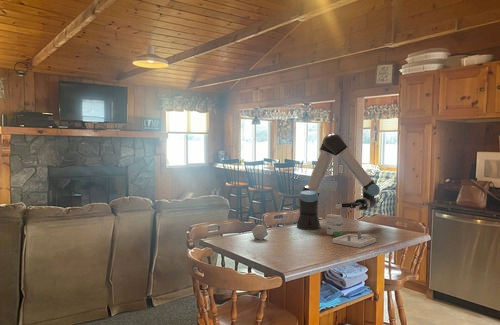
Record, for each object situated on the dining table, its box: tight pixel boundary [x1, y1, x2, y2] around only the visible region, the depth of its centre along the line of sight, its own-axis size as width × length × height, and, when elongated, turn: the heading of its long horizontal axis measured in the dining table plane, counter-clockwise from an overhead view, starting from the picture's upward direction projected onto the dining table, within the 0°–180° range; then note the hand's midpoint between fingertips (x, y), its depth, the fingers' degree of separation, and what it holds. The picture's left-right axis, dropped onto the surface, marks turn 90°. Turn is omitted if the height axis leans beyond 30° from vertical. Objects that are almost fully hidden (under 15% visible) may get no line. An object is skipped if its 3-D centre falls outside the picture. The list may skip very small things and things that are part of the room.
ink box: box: [326, 213, 344, 237], centre depth 226 cm, size 9×5×12 cm, turn 39°
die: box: [251, 224, 269, 241], centre depth 213 cm, size 8×9×10 cm
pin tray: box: [332, 231, 377, 248], centre depth 206 cm, size 16×18×5 cm
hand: (345, 207), depth 234 cm, fingers open, 13 cm apart
